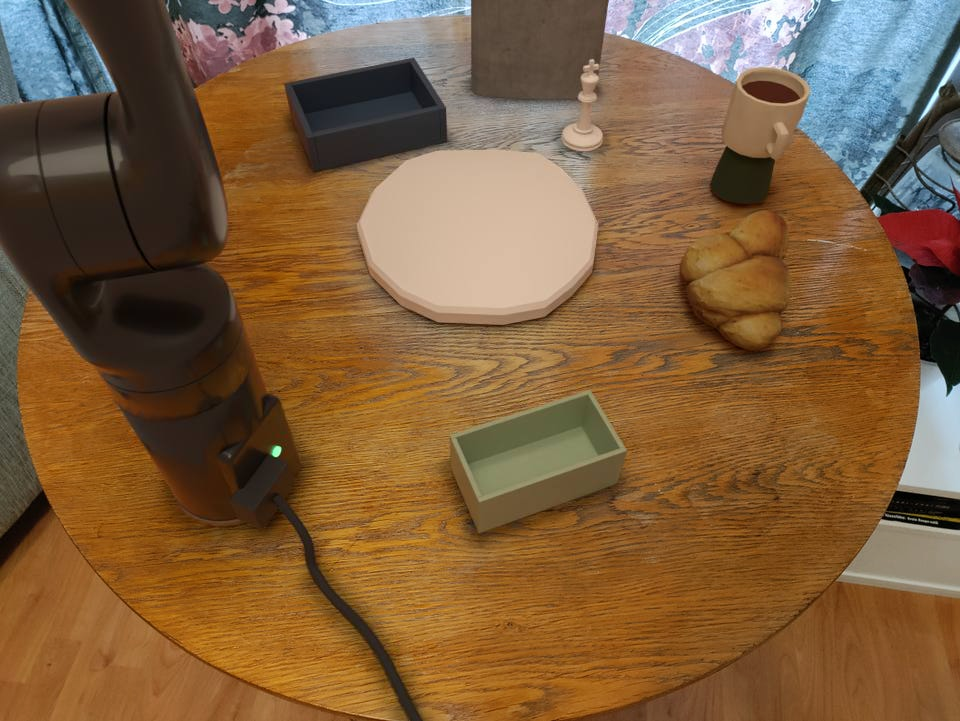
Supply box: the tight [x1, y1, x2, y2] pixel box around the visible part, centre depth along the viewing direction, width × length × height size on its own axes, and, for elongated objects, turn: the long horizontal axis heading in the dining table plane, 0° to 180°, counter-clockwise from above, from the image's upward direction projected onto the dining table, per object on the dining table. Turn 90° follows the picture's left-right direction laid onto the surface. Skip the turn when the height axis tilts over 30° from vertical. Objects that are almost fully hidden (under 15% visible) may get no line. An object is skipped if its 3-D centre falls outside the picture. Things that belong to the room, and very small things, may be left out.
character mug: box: [709, 66, 811, 205], centre depth 80 cm, size 11×7×13 cm, turn 6°
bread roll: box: [678, 209, 792, 351], centre depth 70 cm, size 13×10×8 cm
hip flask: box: [470, 0, 610, 101], centre depth 89 cm, size 16×4×20 cm, turn 89°
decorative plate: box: [355, 148, 600, 326], centre depth 78 cm, size 25×4×25 cm
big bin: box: [283, 57, 448, 173], centre depth 90 cm, size 16×12×5 cm
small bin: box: [449, 389, 628, 534], centre depth 60 cm, size 12×6×5 cm, turn 111°
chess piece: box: [560, 59, 604, 152], centre depth 87 cm, size 5×5×10 cm
